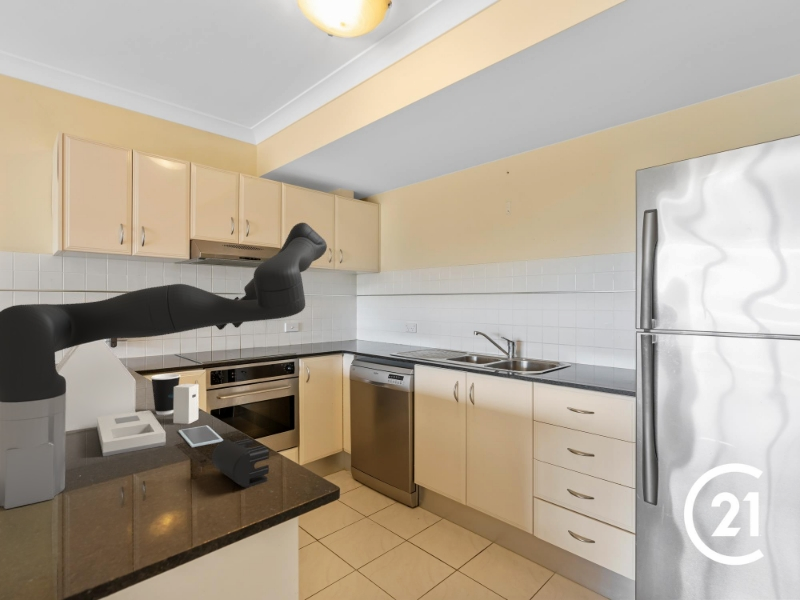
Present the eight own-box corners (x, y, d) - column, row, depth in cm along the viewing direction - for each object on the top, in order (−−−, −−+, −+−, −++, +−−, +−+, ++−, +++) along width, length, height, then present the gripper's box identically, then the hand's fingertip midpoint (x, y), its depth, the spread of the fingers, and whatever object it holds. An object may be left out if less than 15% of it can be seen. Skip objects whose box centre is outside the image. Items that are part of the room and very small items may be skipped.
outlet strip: (165, 445, 99) (165, 431, 99) (103, 456, 91) (103, 442, 91) (149, 420, 118) (149, 409, 118) (96, 428, 110) (97, 416, 110)
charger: (198, 419, 120) (199, 384, 120) (188, 423, 115) (189, 387, 115) (183, 418, 120) (184, 383, 120) (173, 423, 116) (173, 386, 116)
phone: (223, 443, 102) (223, 438, 102) (191, 449, 98) (191, 445, 98) (207, 428, 113) (207, 424, 113) (178, 434, 109) (178, 429, 109)
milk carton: (45, 434, 105) (46, 334, 105) (45, 420, 117) (46, 330, 117) (135, 421, 118) (136, 331, 118) (127, 409, 130) (128, 328, 129)
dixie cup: (179, 414, 124) (179, 377, 124) (148, 417, 121) (148, 379, 121) (181, 408, 131) (181, 372, 131) (152, 410, 128) (152, 374, 128)
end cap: (211, 476, 82) (211, 442, 82) (246, 466, 87) (246, 434, 87) (232, 494, 75) (233, 456, 75) (269, 482, 80) (270, 446, 80)
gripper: (263, 294, 107) (221, 338, 109) (285, 295, 122) (248, 334, 123) (244, 273, 108) (202, 318, 110) (268, 276, 122) (230, 315, 124)
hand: (226, 326), depth 116 cm, fingers open, 8 cm apart
